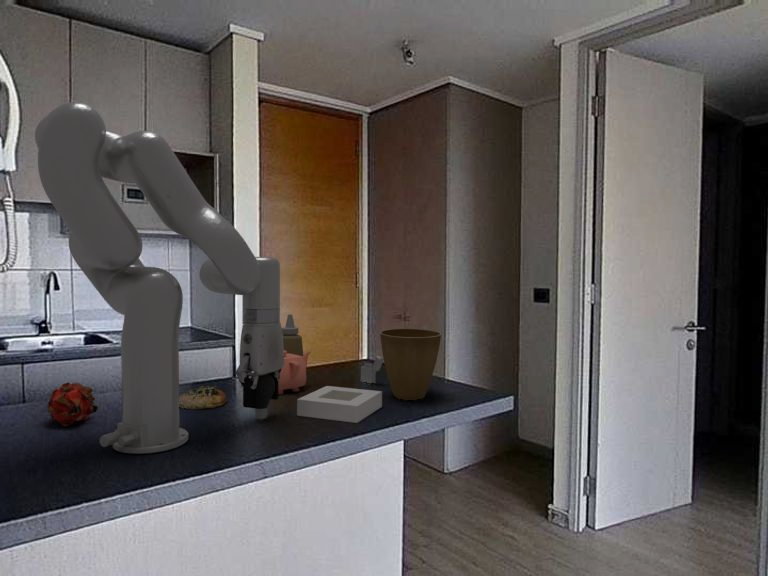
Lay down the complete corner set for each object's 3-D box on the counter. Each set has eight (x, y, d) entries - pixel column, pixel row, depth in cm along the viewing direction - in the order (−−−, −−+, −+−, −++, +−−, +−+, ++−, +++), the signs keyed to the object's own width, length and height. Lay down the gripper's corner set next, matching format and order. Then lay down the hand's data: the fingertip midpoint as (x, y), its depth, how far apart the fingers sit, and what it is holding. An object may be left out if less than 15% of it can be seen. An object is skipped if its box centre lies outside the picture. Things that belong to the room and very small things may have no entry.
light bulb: (278, 417, 119) (278, 370, 119) (270, 424, 114) (270, 375, 113) (252, 415, 120) (252, 369, 119) (243, 423, 114) (243, 374, 114)
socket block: (357, 423, 115) (357, 406, 115) (297, 415, 120) (297, 399, 120) (381, 406, 129) (382, 391, 128) (326, 400, 134) (326, 385, 133)
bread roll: (217, 395, 137) (217, 375, 136) (234, 411, 128) (234, 391, 127) (170, 403, 131) (169, 383, 130) (184, 421, 122) (184, 399, 121)
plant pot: (366, 396, 138) (367, 331, 137) (408, 387, 148) (409, 326, 147) (410, 408, 127) (411, 338, 126) (452, 398, 137) (454, 332, 137)
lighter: (360, 382, 154) (360, 353, 153) (364, 381, 155) (365, 352, 155) (379, 386, 149) (380, 356, 149) (384, 385, 150) (384, 355, 150)
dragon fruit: (73, 420, 120) (79, 444, 110) (35, 402, 115) (37, 425, 106) (99, 387, 122) (107, 408, 112) (63, 368, 117) (68, 387, 107)
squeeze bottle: (273, 377, 159) (273, 313, 158) (302, 375, 162) (302, 313, 161) (276, 383, 151) (277, 316, 151) (306, 381, 154) (307, 315, 153)
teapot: (296, 398, 136) (296, 356, 135) (249, 395, 137) (249, 354, 137) (312, 385, 150) (312, 347, 149) (269, 383, 151) (269, 346, 151)
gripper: (252, 322, 106) (252, 415, 107) (298, 314, 122) (298, 395, 123) (219, 320, 109) (219, 411, 110) (268, 312, 125) (268, 392, 126)
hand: (261, 402), depth 116 cm, fingers open, 6 cm apart
